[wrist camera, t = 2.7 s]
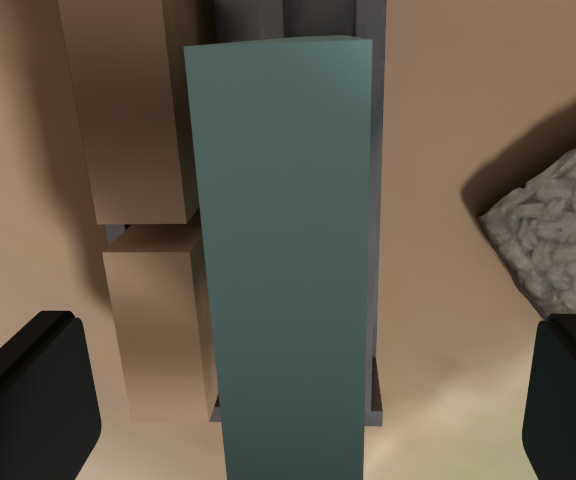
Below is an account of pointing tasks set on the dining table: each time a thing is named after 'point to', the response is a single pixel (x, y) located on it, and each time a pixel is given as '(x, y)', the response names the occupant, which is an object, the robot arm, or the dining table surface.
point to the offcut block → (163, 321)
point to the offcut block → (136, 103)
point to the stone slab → (540, 237)
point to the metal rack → (371, 25)
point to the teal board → (286, 247)
